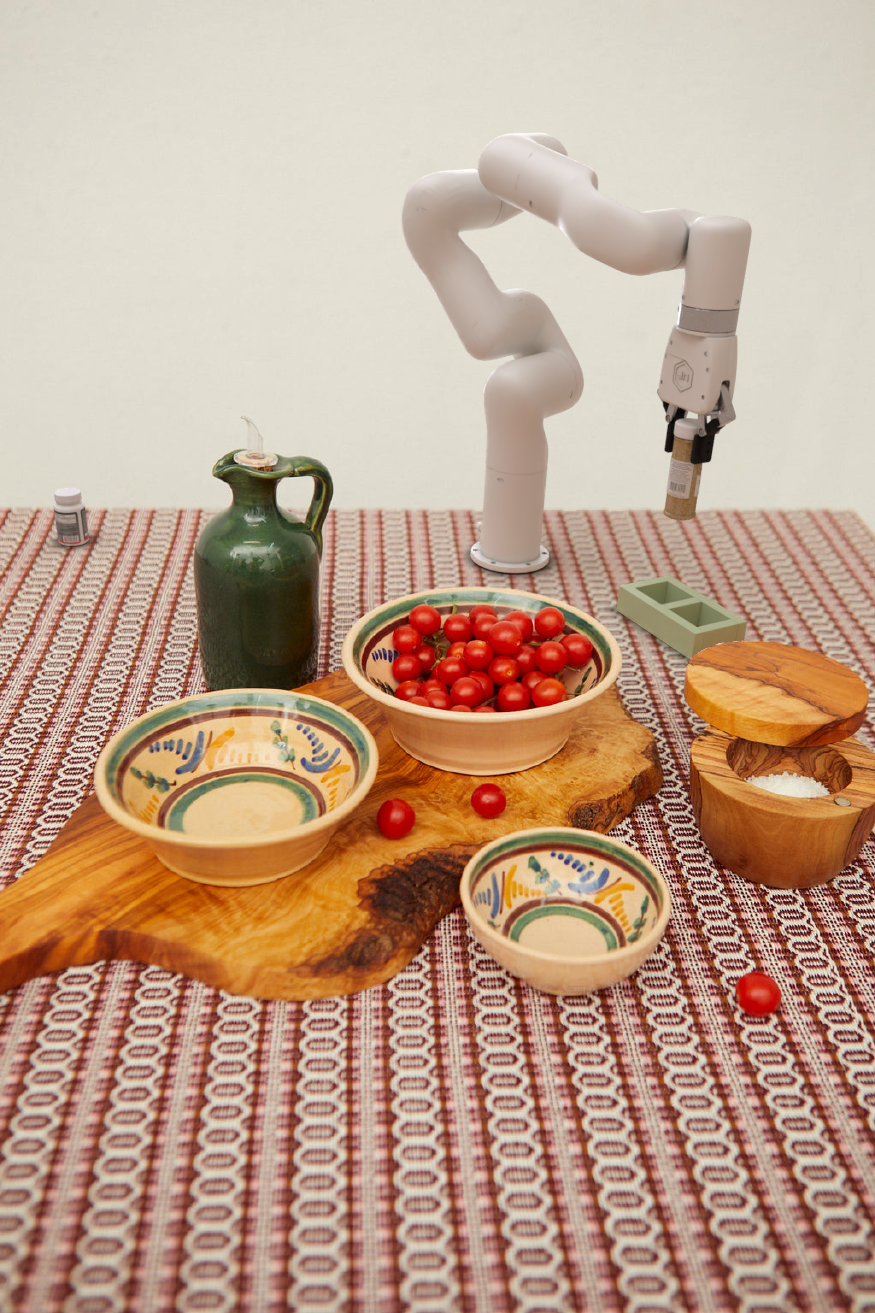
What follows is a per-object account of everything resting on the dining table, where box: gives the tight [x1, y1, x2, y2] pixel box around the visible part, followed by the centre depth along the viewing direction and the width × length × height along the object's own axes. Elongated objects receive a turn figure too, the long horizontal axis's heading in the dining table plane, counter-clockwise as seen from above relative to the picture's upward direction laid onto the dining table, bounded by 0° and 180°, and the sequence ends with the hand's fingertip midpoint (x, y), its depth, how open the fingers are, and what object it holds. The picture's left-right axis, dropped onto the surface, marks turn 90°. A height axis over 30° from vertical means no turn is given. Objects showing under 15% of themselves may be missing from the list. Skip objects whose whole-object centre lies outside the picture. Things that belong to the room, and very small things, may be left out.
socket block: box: [616, 574, 748, 660], centre depth 155 cm, size 9×17×4 cm, turn 28°
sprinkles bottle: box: [662, 417, 709, 521], centre depth 150 cm, size 5×5×13 cm
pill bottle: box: [53, 487, 90, 547], centre depth 173 cm, size 5×5×8 cm
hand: (687, 455), depth 149 cm, fingers closed on sprinkles bottle, 4 cm apart
